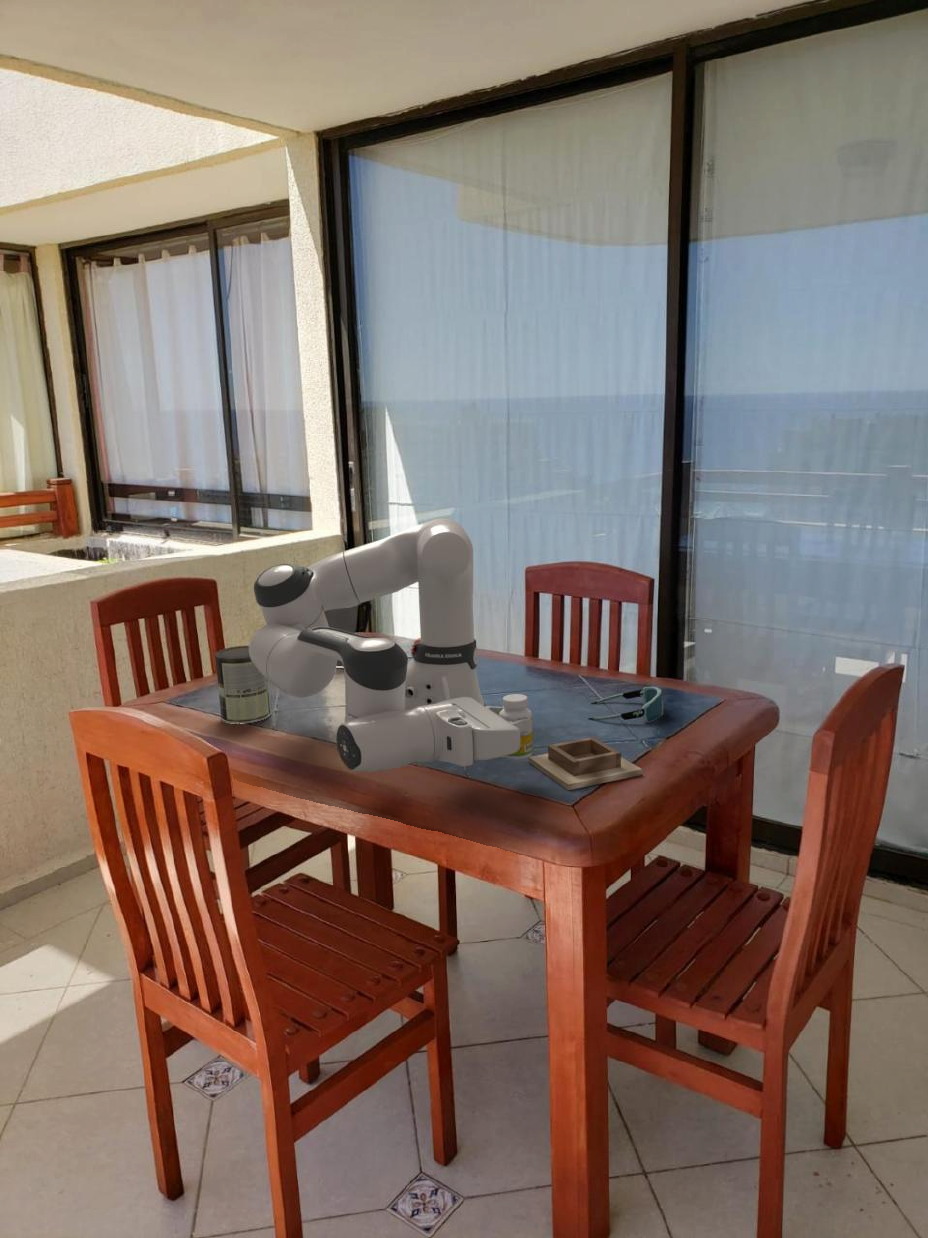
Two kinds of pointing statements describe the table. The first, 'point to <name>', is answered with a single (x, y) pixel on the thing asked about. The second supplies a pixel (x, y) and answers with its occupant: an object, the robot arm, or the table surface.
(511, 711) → the supplement bottle
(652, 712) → the sunglasses
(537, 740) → the table surface
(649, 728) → the table surface
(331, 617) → the coffeepot
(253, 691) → the coffee can
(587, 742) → the collar board
